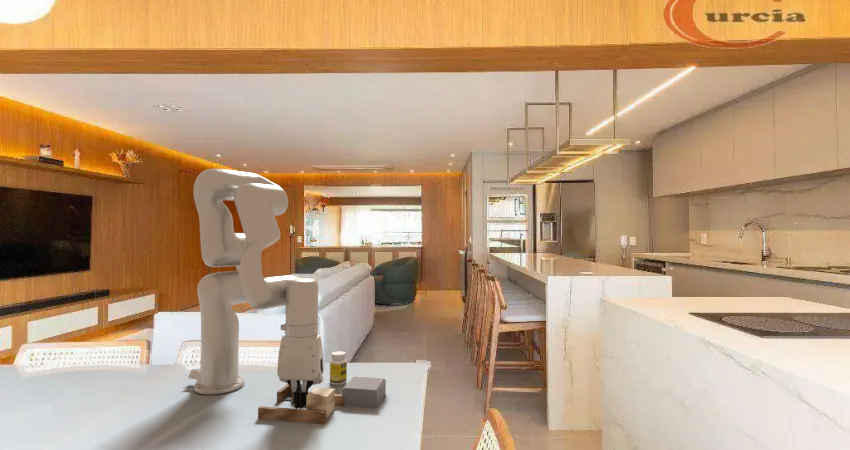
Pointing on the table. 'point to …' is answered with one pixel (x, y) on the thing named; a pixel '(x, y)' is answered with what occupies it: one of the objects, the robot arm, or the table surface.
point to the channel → (291, 413)
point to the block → (321, 400)
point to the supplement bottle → (338, 368)
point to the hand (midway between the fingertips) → (300, 406)
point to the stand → (364, 392)
